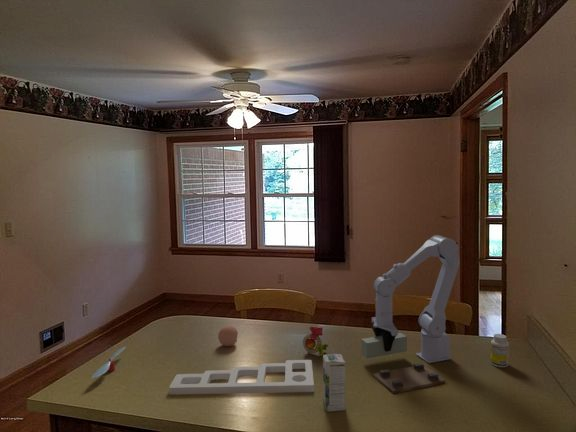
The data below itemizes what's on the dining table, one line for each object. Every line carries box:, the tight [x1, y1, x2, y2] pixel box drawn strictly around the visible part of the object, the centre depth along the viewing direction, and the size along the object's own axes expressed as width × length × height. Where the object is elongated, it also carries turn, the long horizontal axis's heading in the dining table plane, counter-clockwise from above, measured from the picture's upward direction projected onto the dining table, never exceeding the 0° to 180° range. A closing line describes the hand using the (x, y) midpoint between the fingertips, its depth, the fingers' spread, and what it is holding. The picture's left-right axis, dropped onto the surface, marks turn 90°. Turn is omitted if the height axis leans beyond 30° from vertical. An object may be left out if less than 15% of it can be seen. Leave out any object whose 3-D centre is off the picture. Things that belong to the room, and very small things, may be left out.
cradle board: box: [372, 362, 446, 395], centre depth 136 cm, size 19×12×2 cm, turn 108°
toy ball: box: [217, 325, 239, 347], centre depth 167 cm, size 8×8×8 cm
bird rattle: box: [302, 326, 329, 357], centre depth 157 cm, size 6×11×9 cm
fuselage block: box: [360, 332, 408, 359], centre depth 150 cm, size 16×4×6 cm, turn 108°
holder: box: [168, 359, 315, 395], centre depth 139 cm, size 45×18×3 cm, turn 89°
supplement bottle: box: [490, 333, 510, 368], centre depth 144 cm, size 6×6×10 cm
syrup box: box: [322, 353, 346, 413], centre depth 121 cm, size 6×6×14 cm
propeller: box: [90, 346, 127, 379], centre depth 148 cm, size 4×25×4 cm, turn 177°
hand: (384, 348), depth 150 cm, fingers closed on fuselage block, 4 cm apart
